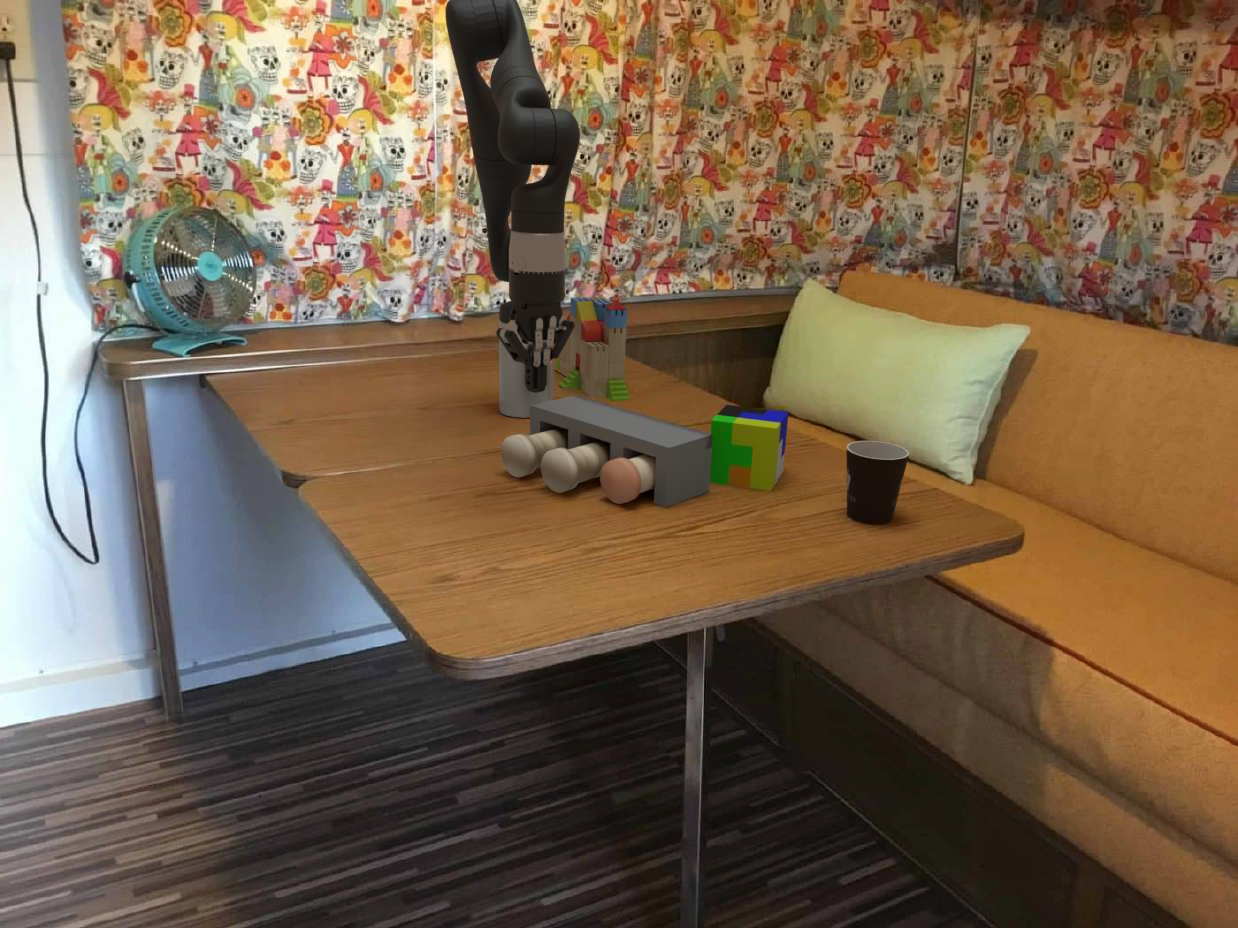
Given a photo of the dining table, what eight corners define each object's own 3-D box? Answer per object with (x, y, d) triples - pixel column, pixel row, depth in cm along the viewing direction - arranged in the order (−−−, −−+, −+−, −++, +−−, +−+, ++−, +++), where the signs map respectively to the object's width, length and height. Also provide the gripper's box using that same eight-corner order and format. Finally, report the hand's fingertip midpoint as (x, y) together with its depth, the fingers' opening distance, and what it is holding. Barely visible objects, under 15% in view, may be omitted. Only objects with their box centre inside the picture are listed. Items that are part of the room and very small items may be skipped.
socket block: (573, 446, 173) (575, 395, 170) (708, 491, 154) (712, 434, 151) (529, 459, 166) (530, 405, 163) (665, 507, 147) (669, 447, 144)
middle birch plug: (588, 471, 160) (589, 432, 158) (618, 482, 156) (619, 442, 154) (540, 486, 153) (541, 445, 151) (570, 497, 149) (571, 455, 146)
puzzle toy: (782, 472, 164) (788, 412, 161) (771, 491, 155) (776, 428, 152) (722, 463, 167) (726, 404, 164) (707, 482, 158) (711, 420, 155)
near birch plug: (548, 458, 165) (549, 420, 163) (576, 467, 161) (577, 428, 159) (501, 471, 158) (501, 431, 156) (528, 481, 154) (529, 441, 152)
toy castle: (539, 370, 224) (540, 282, 218) (599, 367, 229) (602, 281, 223) (580, 404, 199) (582, 305, 193) (647, 400, 204) (651, 303, 198)
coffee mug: (889, 532, 141) (898, 463, 138) (830, 518, 145) (837, 451, 142) (914, 508, 151) (923, 443, 147) (857, 495, 155) (865, 432, 152)
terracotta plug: (645, 481, 156) (647, 441, 154) (677, 492, 152) (679, 451, 150) (599, 497, 149) (600, 455, 147) (631, 508, 145) (633, 466, 143)
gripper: (553, 259, 144) (551, 378, 149) (480, 266, 135) (481, 393, 140) (591, 265, 139) (588, 389, 145) (519, 273, 130) (518, 404, 135)
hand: (535, 391), depth 142 cm, fingers closed
